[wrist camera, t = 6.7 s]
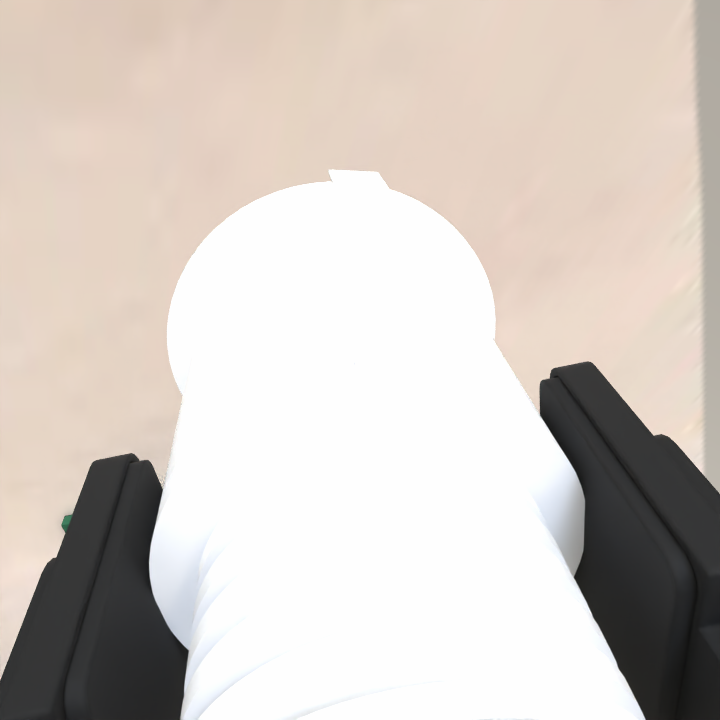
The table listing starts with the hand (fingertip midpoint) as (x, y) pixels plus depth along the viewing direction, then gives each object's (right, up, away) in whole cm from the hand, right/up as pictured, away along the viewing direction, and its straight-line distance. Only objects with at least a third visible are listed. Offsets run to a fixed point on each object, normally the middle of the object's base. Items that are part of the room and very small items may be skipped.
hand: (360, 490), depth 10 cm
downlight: (-1, +3, +4) cm, 5 cm away
